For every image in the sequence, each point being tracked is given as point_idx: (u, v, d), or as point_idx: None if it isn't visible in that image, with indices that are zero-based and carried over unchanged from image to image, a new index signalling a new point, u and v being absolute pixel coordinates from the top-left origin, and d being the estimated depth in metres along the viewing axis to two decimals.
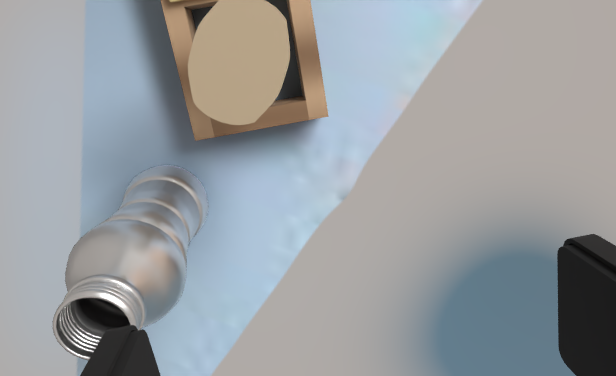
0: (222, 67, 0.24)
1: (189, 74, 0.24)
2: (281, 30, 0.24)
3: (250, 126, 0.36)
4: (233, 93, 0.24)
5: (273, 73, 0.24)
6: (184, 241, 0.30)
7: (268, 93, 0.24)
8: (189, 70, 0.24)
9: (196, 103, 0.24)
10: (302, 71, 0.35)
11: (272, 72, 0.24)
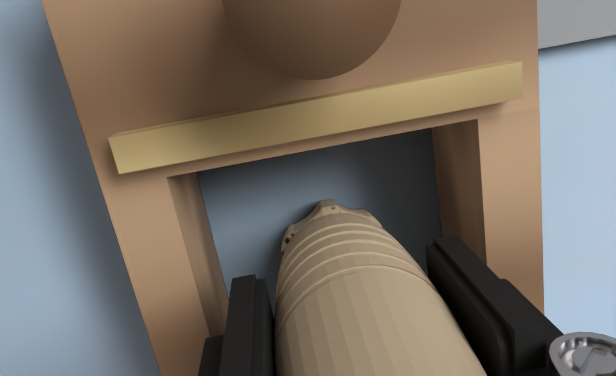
0: None
1: None
2: None
3: None
4: None
5: None
6: None
7: None
8: None
9: None
10: None
11: None
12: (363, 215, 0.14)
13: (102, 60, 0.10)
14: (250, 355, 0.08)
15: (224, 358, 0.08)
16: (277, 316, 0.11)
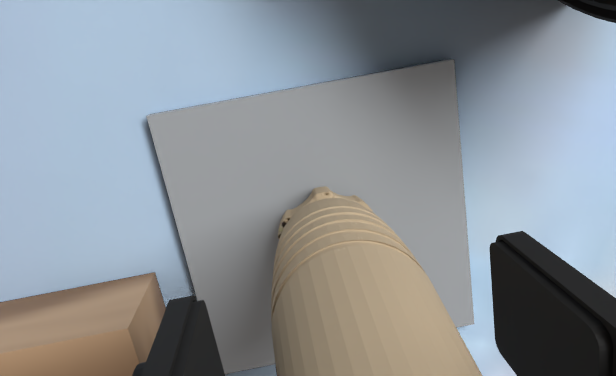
0: None
1: None
2: None
3: None
4: None
5: None
6: None
7: None
8: None
9: None
10: None
11: None
12: (355, 201, 0.15)
13: None
14: None
15: None
16: (274, 289, 0.12)
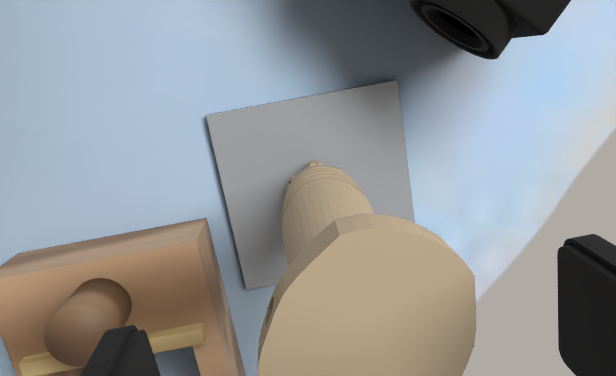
0: (330, 366, 0.11)
1: None
2: (461, 295, 0.11)
3: None
4: None
5: (436, 373, 0.11)
6: None
7: None
8: (260, 375, 0.11)
9: None
10: None
11: (434, 372, 0.11)
12: (335, 168, 0.24)
13: (17, 329, 0.23)
14: None
15: None
16: (283, 209, 0.21)
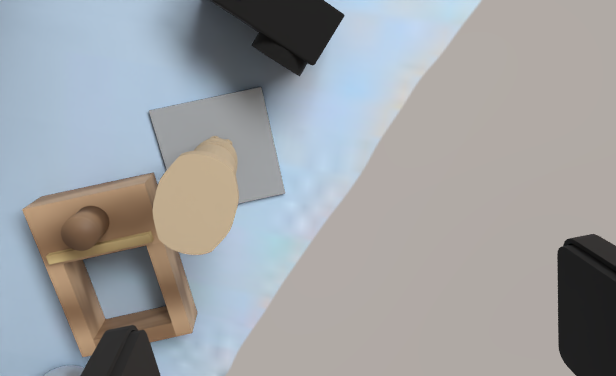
0: (181, 210, 0.29)
1: (154, 217, 0.28)
2: (229, 180, 0.28)
3: None
4: (192, 230, 0.29)
5: (224, 213, 0.29)
6: None
7: (221, 229, 0.29)
8: (154, 214, 0.28)
9: (161, 239, 0.29)
10: (166, 302, 0.43)
11: (224, 212, 0.29)
12: (225, 140, 0.41)
13: (44, 236, 0.41)
14: None
15: None
16: None
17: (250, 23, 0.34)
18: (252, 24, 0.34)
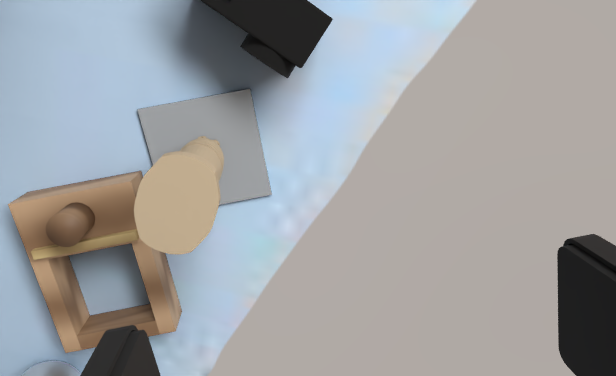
0: (162, 210, 0.29)
1: (135, 216, 0.29)
2: (210, 181, 0.29)
3: None
4: (173, 229, 0.29)
5: (205, 214, 0.29)
6: None
7: (202, 229, 0.29)
8: (135, 213, 0.29)
9: (142, 238, 0.29)
10: (150, 300, 0.44)
11: (204, 213, 0.29)
12: (213, 140, 0.42)
13: (29, 232, 0.41)
14: None
15: None
16: None
17: (239, 25, 0.34)
18: (241, 26, 0.34)
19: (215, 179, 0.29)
